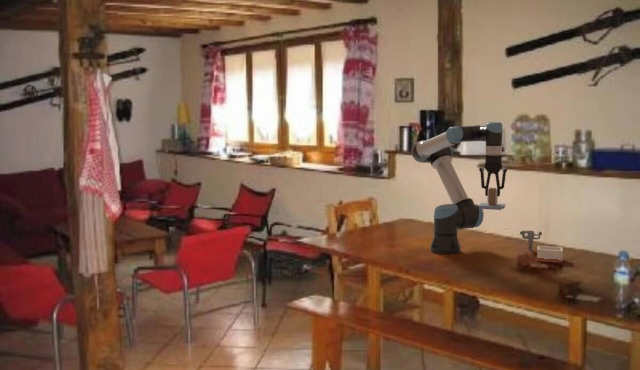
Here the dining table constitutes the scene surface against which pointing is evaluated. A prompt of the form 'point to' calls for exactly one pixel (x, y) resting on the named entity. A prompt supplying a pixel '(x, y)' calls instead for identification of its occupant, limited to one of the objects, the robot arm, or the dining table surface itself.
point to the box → (549, 252)
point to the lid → (492, 201)
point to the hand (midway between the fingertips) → (492, 202)
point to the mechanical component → (530, 237)
